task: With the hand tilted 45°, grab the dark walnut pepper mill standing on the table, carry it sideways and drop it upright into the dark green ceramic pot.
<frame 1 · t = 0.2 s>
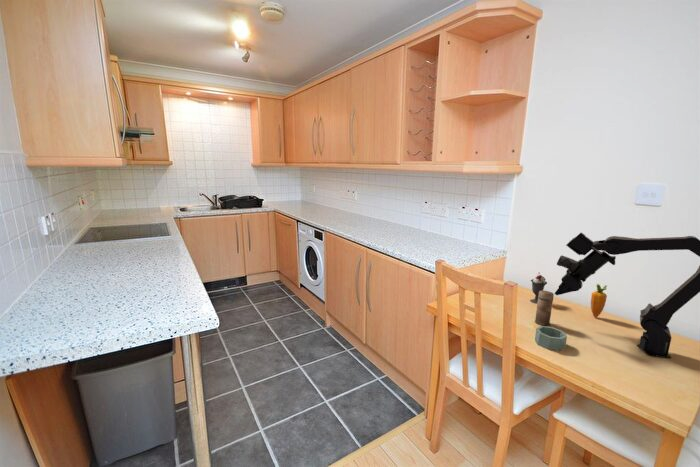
hand: (557, 291, 124), 14 cm above the table, tool tilted 35°, fingers open, 9 cm apart
sundae: (535, 302, 148), on the table
pepper mill: (542, 323, 127), on the table
pot: (549, 343, 112), on the table
carrot: (595, 318, 133), on the table
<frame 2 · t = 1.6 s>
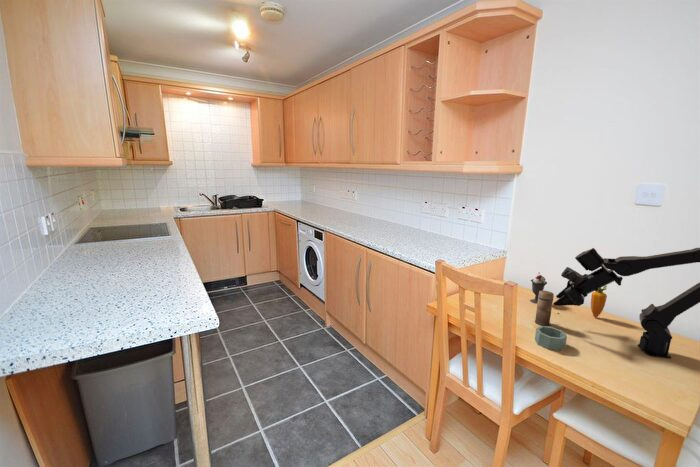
hand: (555, 300, 123), 11 cm above the table, tool tilted 45°, fingers open, 9 cm apart
nothing on the table moved.
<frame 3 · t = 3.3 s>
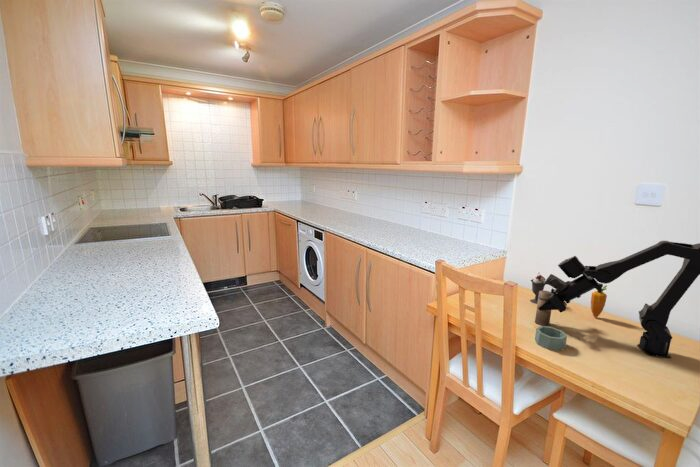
hand: (540, 306, 127), 7 cm above the table, tool tilted 45°, fingers closed on pepper mill, 5 cm apart
pepper mill: (542, 323, 127), on the table, touching gripper
everything else where it was.
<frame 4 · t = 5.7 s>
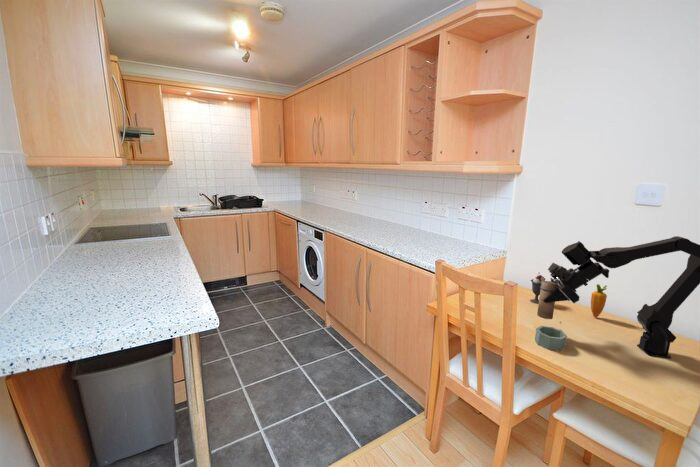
hand: (542, 299, 118), 13 cm above the table, tool tilted 45°, fingers closed on pepper mill, 5 cm apart
pepper mill: (544, 316, 118), point 7 cm above the table, touching gripper
everything else where it was.
when the fingers open (9 cm above the table, at t = 8.3 s): pepper mill drops 2 cm, resting on pot.
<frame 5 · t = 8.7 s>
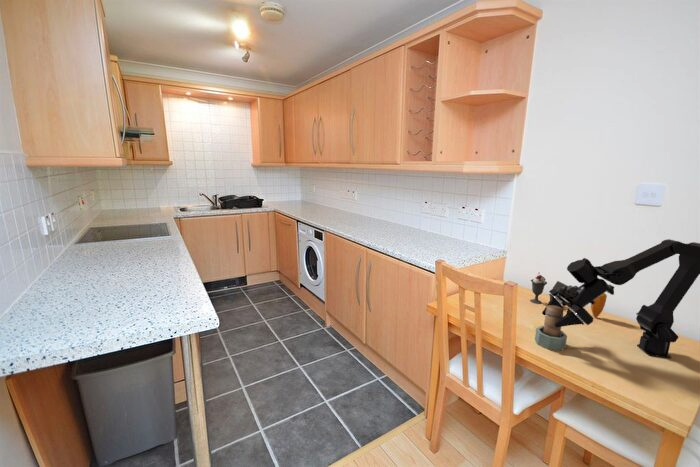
hand: (548, 319, 110), 9 cm above the table, tool tilted 45°, fingers open, 9 cm apart
pepper mill: (550, 342, 112), point 1 cm above the table, touching pot
everything else where it was.
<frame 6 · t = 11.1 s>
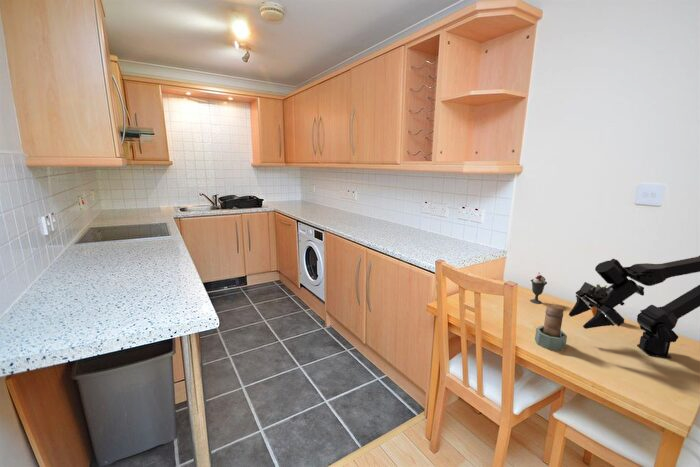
hand: (576, 321, 109), 9 cm above the table, tool tilted 45°, fingers open, 9 cm apart
nothing on the table moved.
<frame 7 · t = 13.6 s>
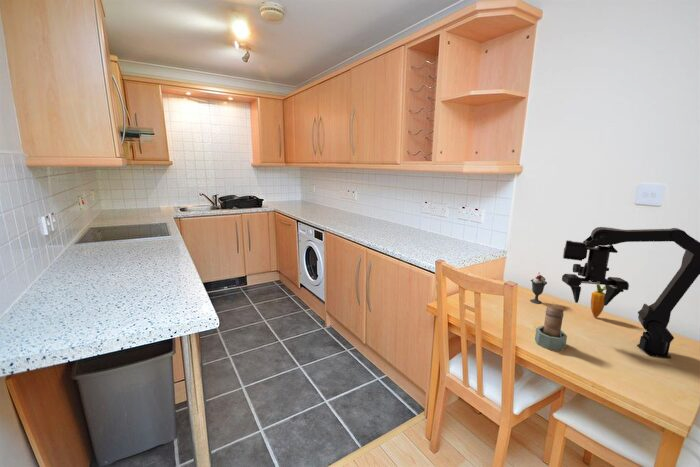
hand: (590, 303, 115), 13 cm above the table, tool pointing down, fingers open, 9 cm apart
nothing on the table moved.
at the end: pepper mill 0.1 cm off-centre on the pot, point 0.6 cm above the pot's base; pepper mill tilted 0°; the gripper is holding nothing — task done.
